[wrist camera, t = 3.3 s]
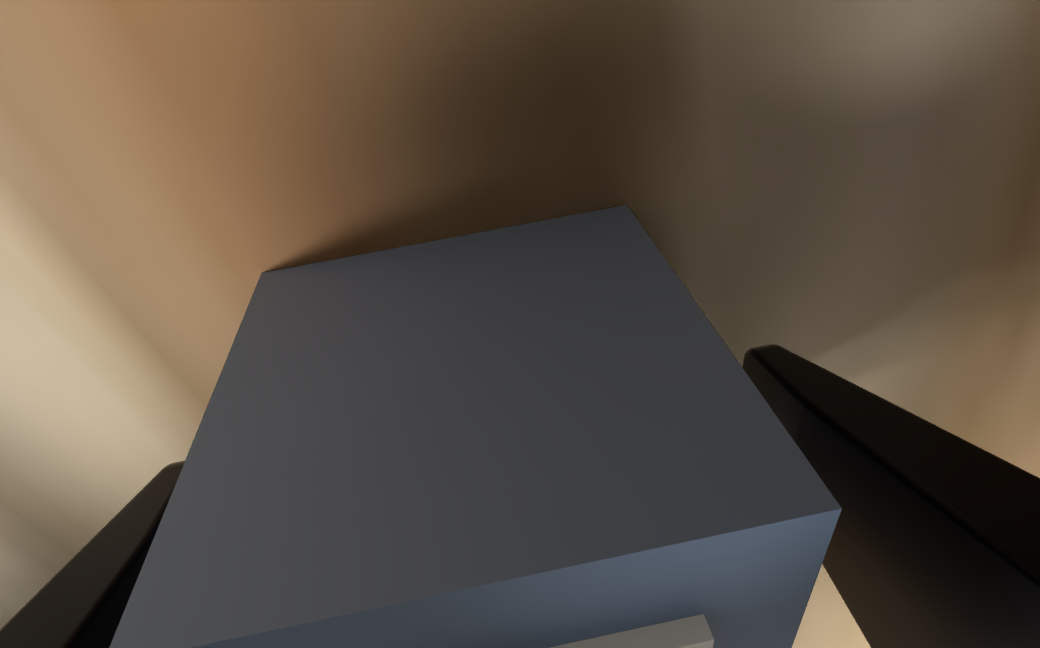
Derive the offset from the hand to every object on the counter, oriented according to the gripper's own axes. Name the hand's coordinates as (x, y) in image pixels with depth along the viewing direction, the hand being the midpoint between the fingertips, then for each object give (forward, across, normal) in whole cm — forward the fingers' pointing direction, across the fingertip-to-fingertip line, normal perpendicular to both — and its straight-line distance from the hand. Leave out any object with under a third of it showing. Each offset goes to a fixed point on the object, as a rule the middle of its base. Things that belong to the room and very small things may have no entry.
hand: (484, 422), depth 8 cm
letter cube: (+1, 0, 0) cm, 1 cm away
